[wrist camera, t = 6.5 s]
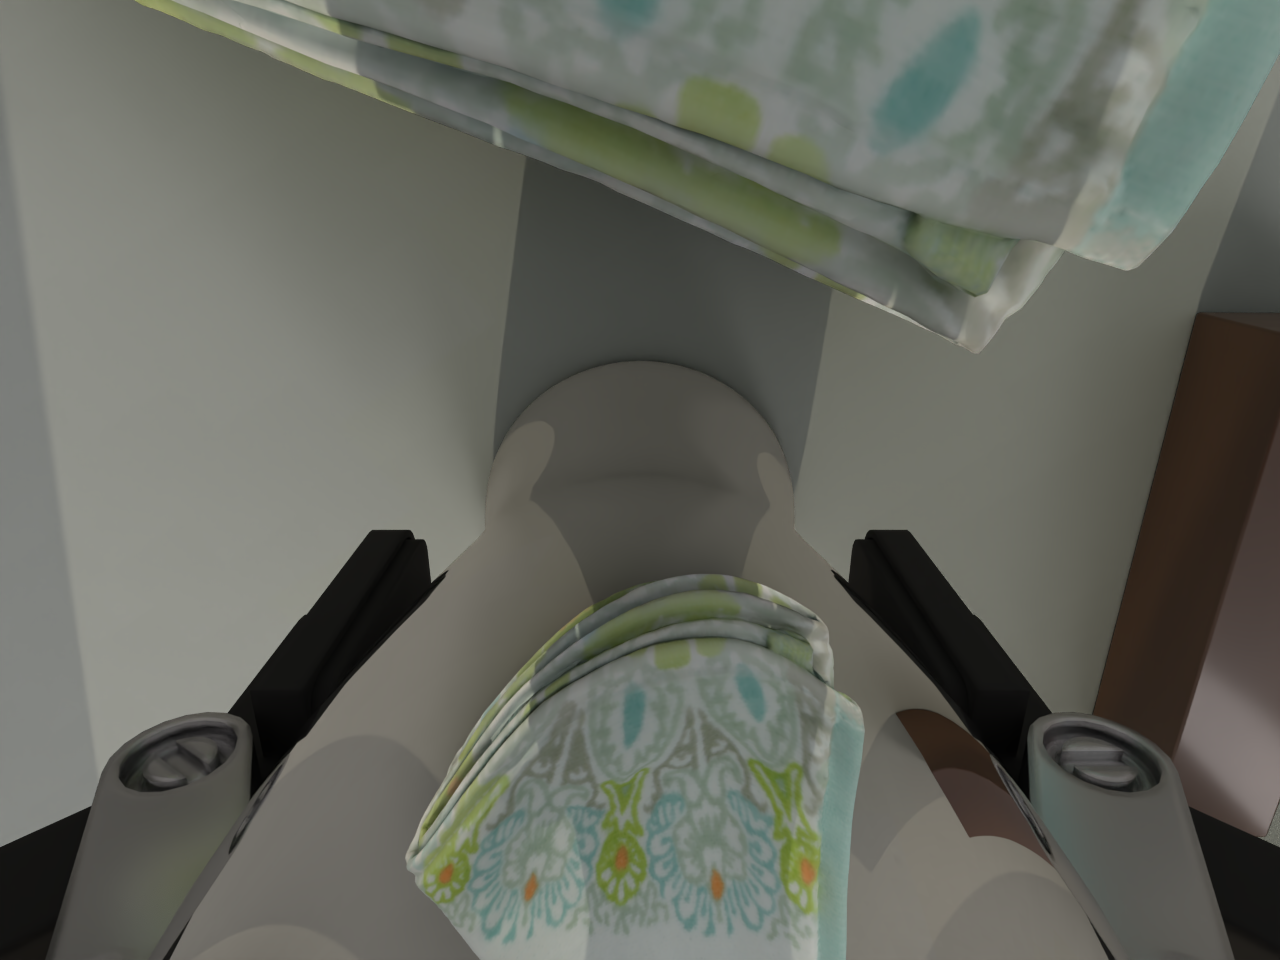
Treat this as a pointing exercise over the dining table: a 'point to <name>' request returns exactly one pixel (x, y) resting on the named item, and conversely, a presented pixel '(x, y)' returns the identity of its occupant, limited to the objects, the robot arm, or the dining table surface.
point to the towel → (830, 119)
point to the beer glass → (639, 739)
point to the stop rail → (1211, 580)
